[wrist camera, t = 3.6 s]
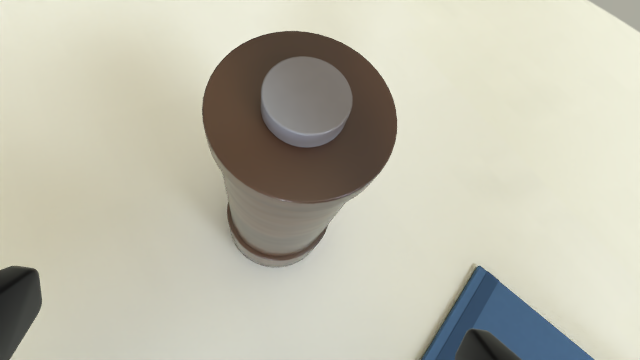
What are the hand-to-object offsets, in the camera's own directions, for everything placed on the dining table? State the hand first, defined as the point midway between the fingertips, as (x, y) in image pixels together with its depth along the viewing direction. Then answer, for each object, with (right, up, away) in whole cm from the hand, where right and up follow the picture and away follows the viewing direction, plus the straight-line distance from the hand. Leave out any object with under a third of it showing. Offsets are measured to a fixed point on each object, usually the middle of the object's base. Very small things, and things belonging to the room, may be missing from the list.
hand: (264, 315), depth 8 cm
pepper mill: (-1, +1, +13) cm, 13 cm away
